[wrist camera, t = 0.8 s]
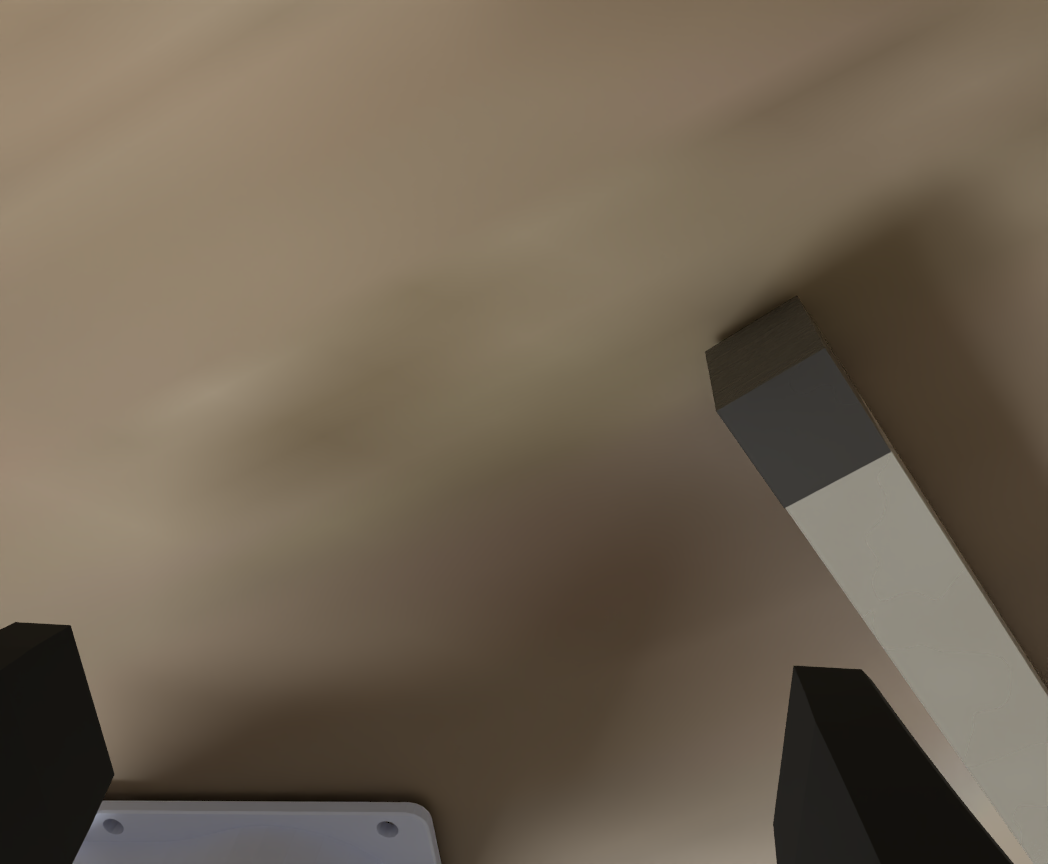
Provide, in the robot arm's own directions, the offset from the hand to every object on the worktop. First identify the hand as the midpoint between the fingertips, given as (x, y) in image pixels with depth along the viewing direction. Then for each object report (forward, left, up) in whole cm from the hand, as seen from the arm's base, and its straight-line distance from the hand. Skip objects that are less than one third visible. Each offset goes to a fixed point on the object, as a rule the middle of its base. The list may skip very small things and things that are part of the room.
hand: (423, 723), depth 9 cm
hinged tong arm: (+10, -9, -9) cm, 15 cm away
